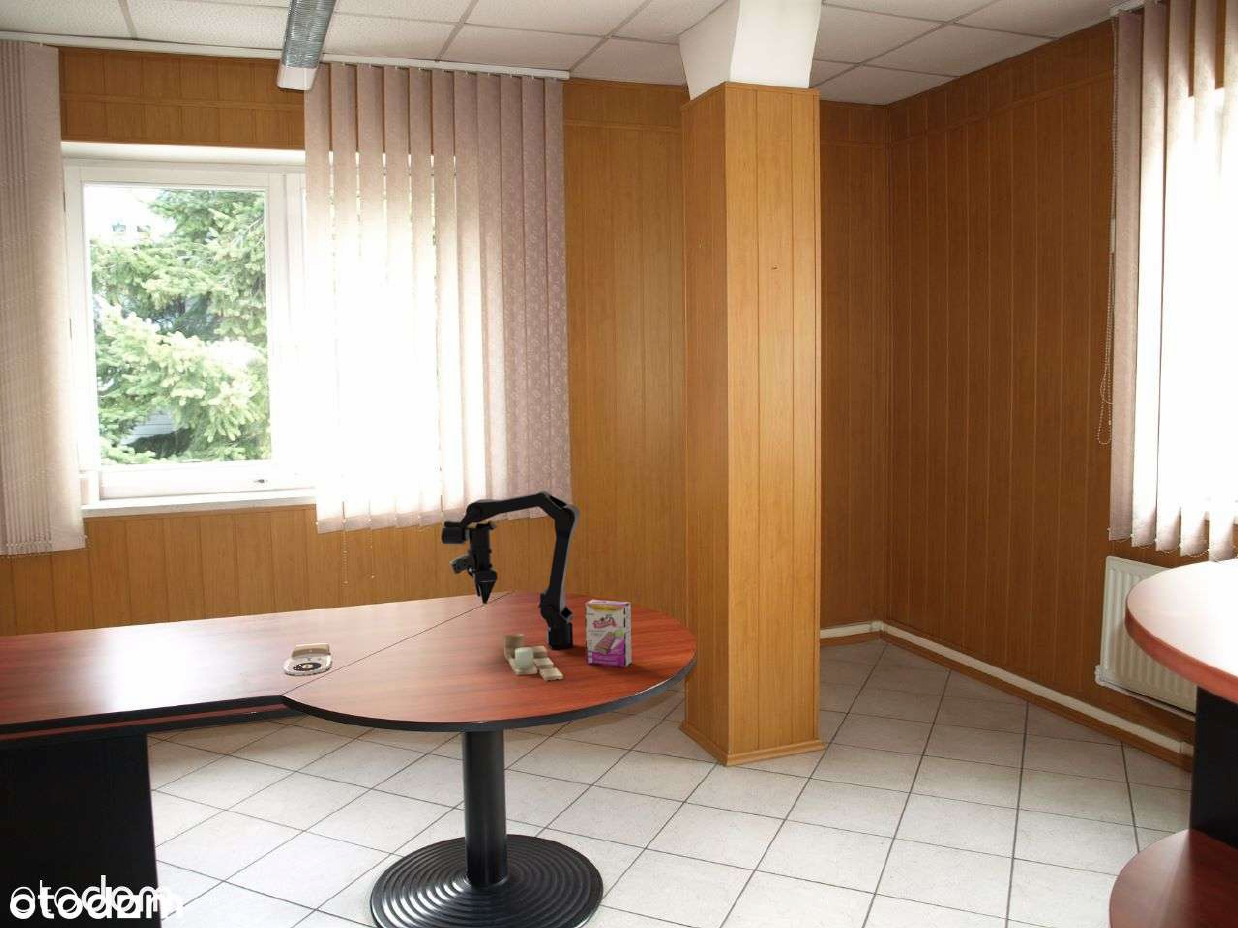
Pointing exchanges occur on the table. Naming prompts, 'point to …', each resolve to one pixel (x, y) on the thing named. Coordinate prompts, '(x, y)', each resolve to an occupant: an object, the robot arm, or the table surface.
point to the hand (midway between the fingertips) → (482, 599)
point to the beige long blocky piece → (509, 651)
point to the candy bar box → (608, 633)
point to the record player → (309, 658)
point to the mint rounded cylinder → (524, 658)
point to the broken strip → (545, 664)
